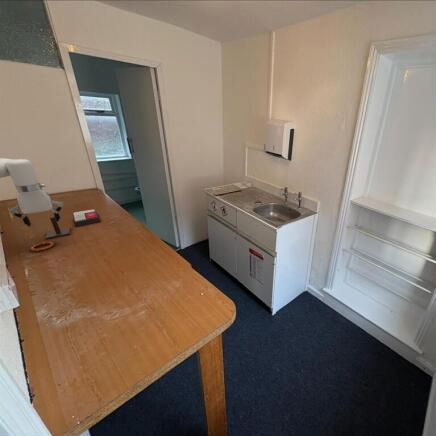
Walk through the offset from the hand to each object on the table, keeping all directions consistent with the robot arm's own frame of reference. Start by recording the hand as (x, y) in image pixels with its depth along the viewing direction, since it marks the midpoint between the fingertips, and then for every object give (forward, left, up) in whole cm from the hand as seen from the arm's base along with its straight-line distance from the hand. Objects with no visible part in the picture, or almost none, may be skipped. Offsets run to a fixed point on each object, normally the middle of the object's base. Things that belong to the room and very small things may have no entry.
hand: (44, 222), depth 110 cm
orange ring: (-4, 0, -12) cm, 12 cm away
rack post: (+1, +14, -12) cm, 18 cm away
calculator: (+13, +28, -12) cm, 33 cm away
